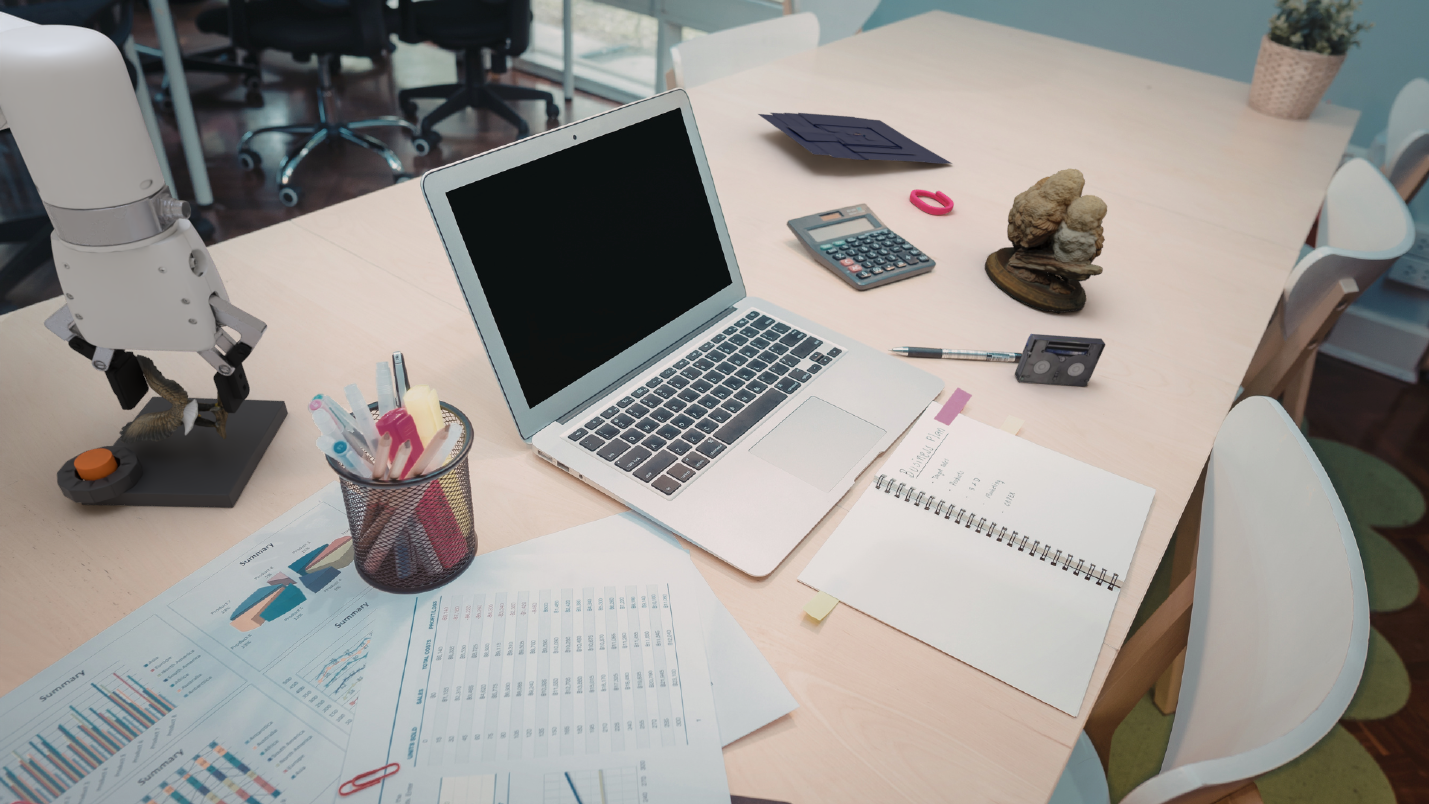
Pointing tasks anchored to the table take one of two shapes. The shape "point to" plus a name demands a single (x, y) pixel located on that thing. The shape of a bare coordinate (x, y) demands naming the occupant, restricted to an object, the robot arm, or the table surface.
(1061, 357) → the mini dv tape
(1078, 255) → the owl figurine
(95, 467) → the button
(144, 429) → the eagle figurine
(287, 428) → the table surface
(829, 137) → the navy patterned tile
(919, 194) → the fitness band
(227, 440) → the scale
